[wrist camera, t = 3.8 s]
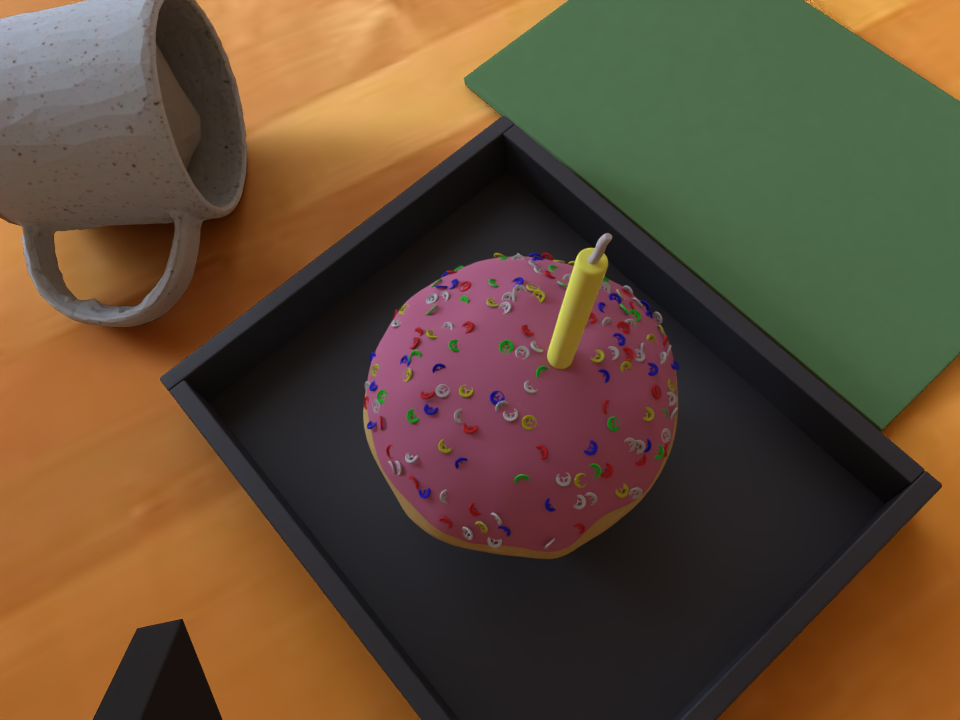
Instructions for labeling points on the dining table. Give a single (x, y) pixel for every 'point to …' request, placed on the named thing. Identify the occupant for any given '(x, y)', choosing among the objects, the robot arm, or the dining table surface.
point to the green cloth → (764, 171)
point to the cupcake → (522, 404)
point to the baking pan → (602, 560)
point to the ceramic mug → (117, 136)
